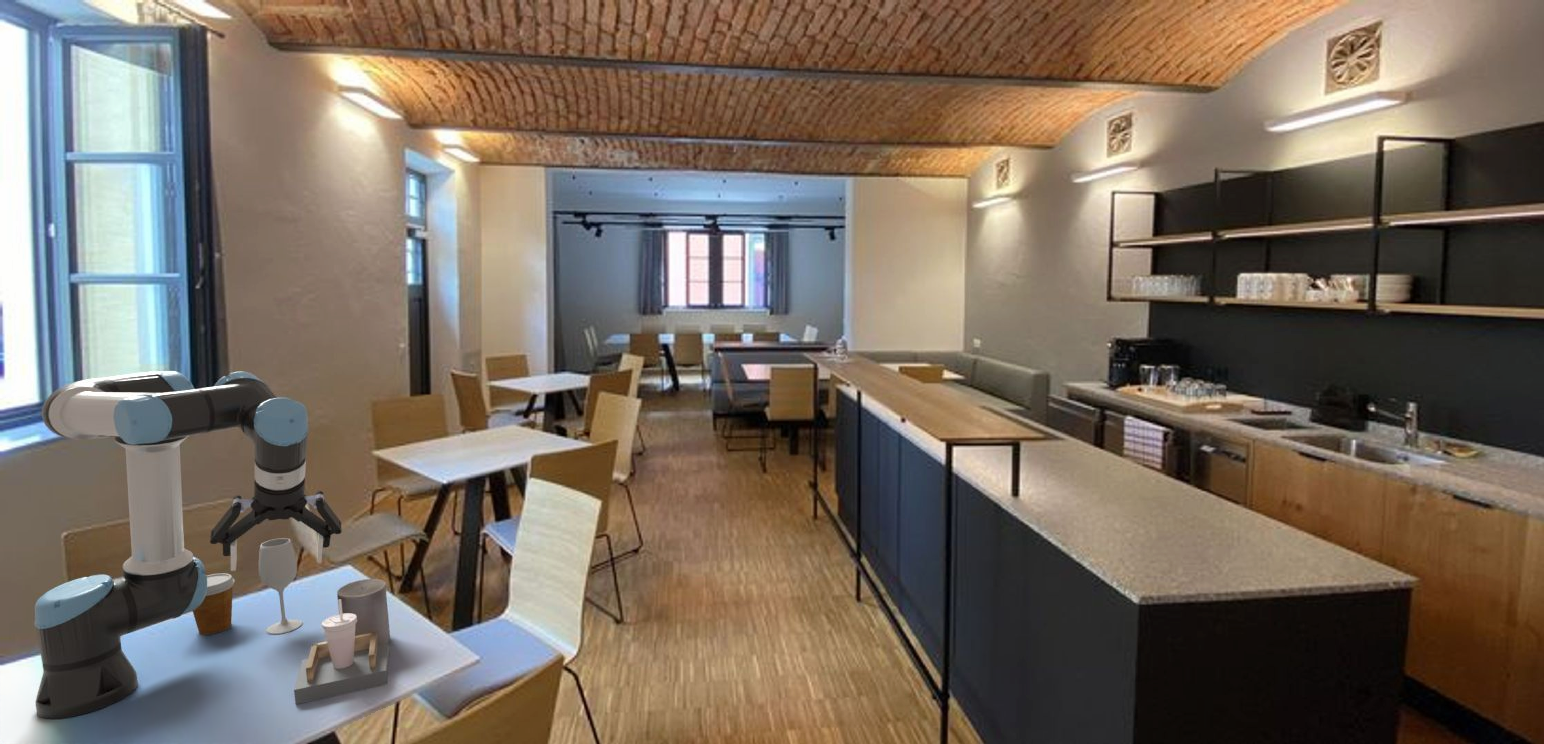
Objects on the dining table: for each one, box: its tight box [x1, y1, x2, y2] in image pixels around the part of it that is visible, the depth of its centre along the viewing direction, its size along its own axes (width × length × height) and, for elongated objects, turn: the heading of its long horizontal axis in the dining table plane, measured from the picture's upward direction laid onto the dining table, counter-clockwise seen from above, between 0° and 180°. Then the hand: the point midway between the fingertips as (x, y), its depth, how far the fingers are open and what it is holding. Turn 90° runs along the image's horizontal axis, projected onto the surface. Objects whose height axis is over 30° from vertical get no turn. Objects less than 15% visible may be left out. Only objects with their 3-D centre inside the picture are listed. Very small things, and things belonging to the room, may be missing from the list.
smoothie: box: [321, 599, 357, 669], centre depth 156 cm, size 6×6×14 cm
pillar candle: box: [336, 578, 391, 645], centre depth 171 cm, size 10×10×15 cm
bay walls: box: [306, 632, 378, 682], centre depth 158 cm, size 12×11×3 cm
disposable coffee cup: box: [192, 572, 236, 635], centre depth 180 cm, size 10×10×12 cm
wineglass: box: [258, 537, 303, 635], centre depth 180 cm, size 8×8×21 cm
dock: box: [293, 643, 390, 705], centre depth 157 cm, size 16×13×3 cm
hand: (277, 561), depth 144 cm, fingers open, 13 cm apart
